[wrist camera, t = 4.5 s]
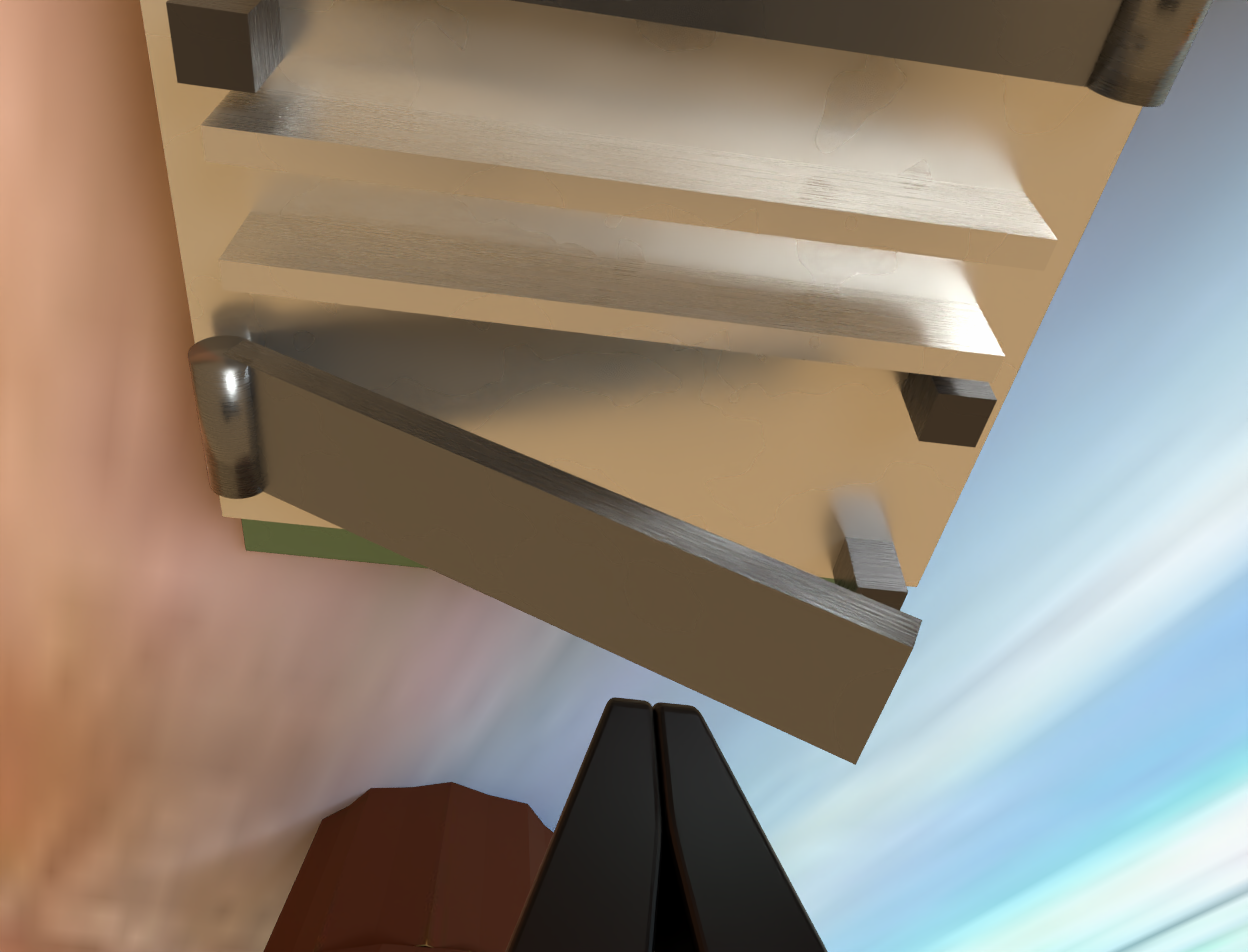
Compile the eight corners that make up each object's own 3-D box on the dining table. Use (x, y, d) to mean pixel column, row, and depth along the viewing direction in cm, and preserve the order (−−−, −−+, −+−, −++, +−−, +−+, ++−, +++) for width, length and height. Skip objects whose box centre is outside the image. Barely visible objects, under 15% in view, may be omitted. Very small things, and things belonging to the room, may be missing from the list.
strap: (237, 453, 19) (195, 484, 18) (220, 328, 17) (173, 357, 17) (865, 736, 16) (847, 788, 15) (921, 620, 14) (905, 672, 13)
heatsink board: (1406, -705, 12) (1824, -891, 8) (864, 584, 27) (909, 763, 23) (56, -1012, 11) (-311, -1433, 7) (257, 522, 26) (182, 701, 21)
